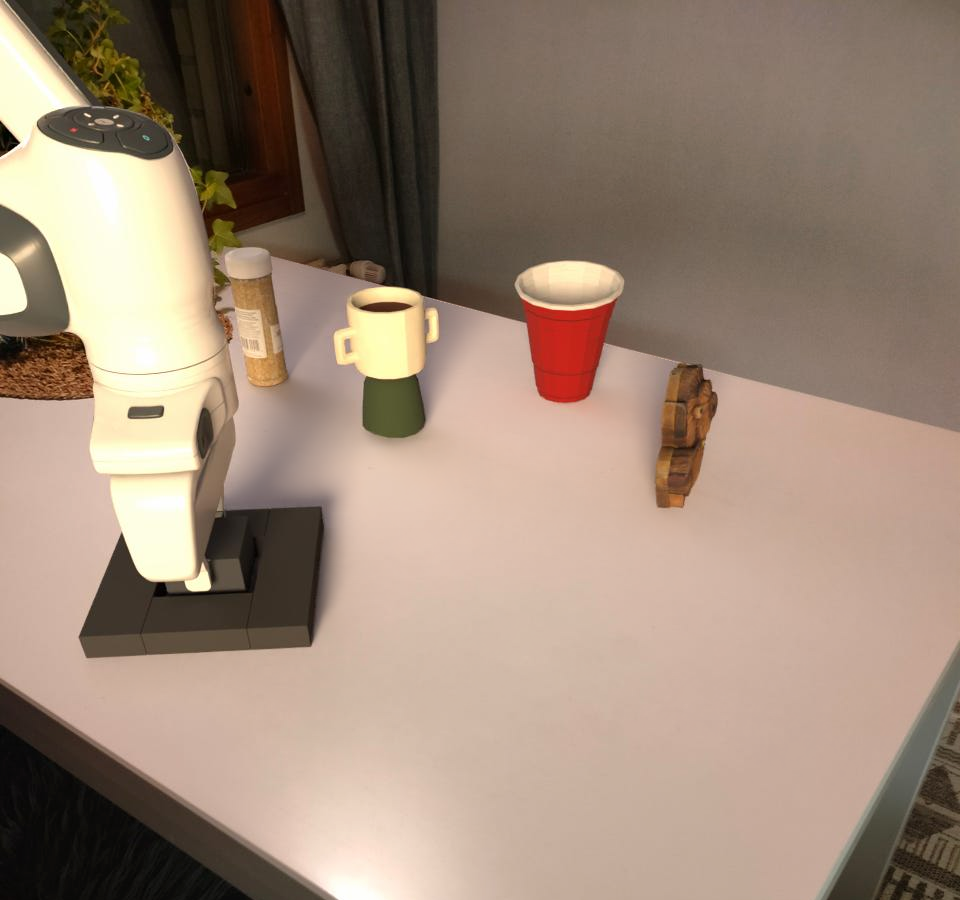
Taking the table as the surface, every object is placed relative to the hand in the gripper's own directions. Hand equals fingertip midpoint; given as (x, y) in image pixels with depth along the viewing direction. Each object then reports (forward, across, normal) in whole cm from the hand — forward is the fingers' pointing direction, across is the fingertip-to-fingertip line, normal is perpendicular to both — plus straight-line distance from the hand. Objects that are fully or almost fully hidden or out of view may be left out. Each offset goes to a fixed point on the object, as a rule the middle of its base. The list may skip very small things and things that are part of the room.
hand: (208, 557), depth 70 cm
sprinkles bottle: (+3, -38, 0) cm, 38 cm away
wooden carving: (+3, -13, +40) cm, 42 cm away
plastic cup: (+3, -32, +32) cm, 45 cm away
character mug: (+3, -25, +14) cm, 29 cm away
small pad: (+2, 0, 0) cm, 2 cm away
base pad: (+3, 0, 0) cm, 3 cm away
